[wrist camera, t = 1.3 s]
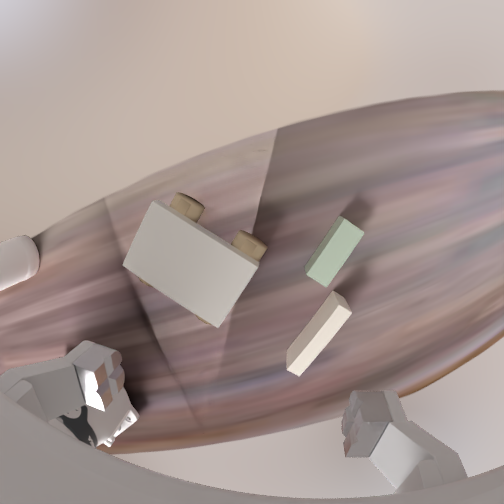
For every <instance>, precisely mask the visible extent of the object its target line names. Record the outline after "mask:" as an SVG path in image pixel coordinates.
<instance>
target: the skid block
mask: <svg viewBox="0 0 504 504" xmlns="http://www.w3.org/2000/svg"><path fill="white" fill-rule="evenodd" d="M363 235H364V232H363V231H361V230H360V229H359V228H357V227H356V226H355V225H353V224H352V223H350V222H349V221H348V220H346V219H345V218H343V217H341V216H339V217H338V218H337V220H336V221H335V223H334V224H333V226H332V227H331V229H330V230H329V232H328V233H327V235H326V236H325V238H324V239H323V241H322V242H321V244H320V245H319V246H318V248H317V249H316V251H315V252H314V254H313V255H312V257H311V258H310V260H309V261H308V262H307V264H306V265H305V267H304V268H305V272H306V275H308V276H309V277H311V278H312V279H314V280H315V281H317V282H318V283H320V284H321V285H323V286H325V287H327V286H328V285H329V283H330V282H331V281H332V279H333V278H334V276H335V275H336V274H337V272H338V271H339V269H340V268H341V267H342V265H343V264H344V262H345V261H346V260H347V258H348V257H349V255H350V254H351V252H352V251H353V249H354V248H355V246H356V245H357V244H358V242H359V241H360V239H361V238H362V236H363Z"/></svg>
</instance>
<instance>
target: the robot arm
mask: <svg viewBox="0 0 504 504" xmlns="http://www.w3.org/2000/svg"><path fill="white" fill-rule="evenodd" d="M121 362H122V357H121V353H120V352H119V351H117V350H114V349H111V348H108V347H105V346H102V345H100V344H96V343H94V342H91V341H88V340H85V341H83V342H81V343H80V344H79V345H78V346H76V347H75V348H74V349H73V350H72V351H70V352H69V353H68V354H67V355H66V356H64V357H59V358H57V359H53V360H48V361H44V362H39V363H35V364H30V365H26V366H21V367H16V368H11V369H8V370H7V371H6V372H4V373H3V374H2V375H1V376H0V504H504V465H503V466H501V467H498V468H495V469H493V470H490V471H487V472H484V473H481V474H479V475H476V476H472V477H469V478H468V477H467V474H466V472H465V469H464V467H463V465H462V462H461V460H460V458H459V455H458V453H456V452H455V451H454V450H452V449H451V448H449V447H448V446H446V445H445V444H444V443H442V442H441V441H439V440H438V439H436V438H435V437H433V436H432V435H430V434H429V433H428V432H426V431H425V430H424V429H422V428H421V427H419V426H418V425H417V424H415V423H414V422H413V421H408V420H407V417H406V415H405V412H404V410H403V408H402V405H401V403H400V400H399V398H398V395H397V393H396V391H394V390H387V391H353V392H352V393H351V396H350V398H349V401H350V406H348V407H347V408H346V409H345V411H344V414H343V419H342V434H343V435H344V436H345V437H346V439H345V441H344V451H345V457H369V459H370V460H371V461H372V463H373V464H374V465H375V466H376V467H377V468H378V470H379V471H380V472H381V473H382V474H383V475H384V476H385V477H386V479H387V480H388V481H389V482H390V483H391V484H392V485H393V487H394V488H395V489H396V491H395V492H394V493H393V494H390V495H382V496H372V497H360V498H341V499H340V498H339V499H310V498H288V497H275V496H266V495H257V494H249V493H243V492H236V491H231V490H224V489H219V488H215V487H210V486H206V485H201V484H197V483H192V482H189V481H185V480H181V479H178V478H174V477H171V476H168V475H164V474H161V473H158V472H155V471H152V470H149V469H146V468H143V467H140V466H137V465H135V464H132V463H130V462H127V461H124V460H122V459H119V458H117V457H115V456H112V455H110V454H107V453H105V452H103V451H101V450H98V449H96V446H98V445H100V444H102V443H104V444H105V445H107V446H108V447H110V446H111V445H112V443H113V442H114V440H115V439H114V438H115V437H116V436H118V435H119V434H120V433H121V432H123V431H124V430H125V429H127V428H128V427H129V426H130V425H132V424H133V423H134V422H136V421H137V420H138V418H139V414H138V412H137V411H136V410H135V409H134V407H133V406H132V405H131V403H130V400H129V397H128V395H127V393H126V391H125V389H124V387H123V384H124V380H125V374H124V370H123V368H122V367H121V366H120V363H121Z"/></svg>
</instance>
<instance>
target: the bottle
mask: <svg viewBox="0 0 504 504" xmlns="http://www.w3.org/2000/svg"><path fill="white" fill-rule="evenodd" d="M39 262H40V260H39V253H38V250H37V247H36V245H35V243H34V241H33V240H32V239H31V238H30V237H28V236H25V235H24V236H18V237H15V238H11V239H10V240H6V241H3V242H0V291H1V290H3V289H5V288H7V287H10V286H12V285H14V284H16V283H18V282H21V281H24V280H26V279H28V278H30V277H32V276H34V275H35V274H36V273H37V271H38V269H39Z"/></svg>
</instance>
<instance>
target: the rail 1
mask: <svg viewBox="0 0 504 504" xmlns="http://www.w3.org/2000/svg"><path fill="white" fill-rule="evenodd" d="M170 207H171V208H173V209H175V210H176V211H178V212H179V213H181V214H183V215H184V216H186V217H187V218H189V219H191V220H192V221H194V222H195V223H197V221H198V220H199V218H200V216H201V214H202V213H203V211H204V209H205V207H204V206H203V205H202V204H201V203H200V202H198V201H197V200H195V199H193V198H192V197H190V196H188V195H185V194H183V193H179V192H178V193H176V195H175V197H174V199H173V201H172V203H171V204H170ZM138 278H139V279H140V281H141V282H143V283H144V284H146V285H147V286H151V285H150V284H148V283H147V282H146V281H144V280H143V279H141V278H140V277H138ZM151 287H153V286H151Z"/></svg>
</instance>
